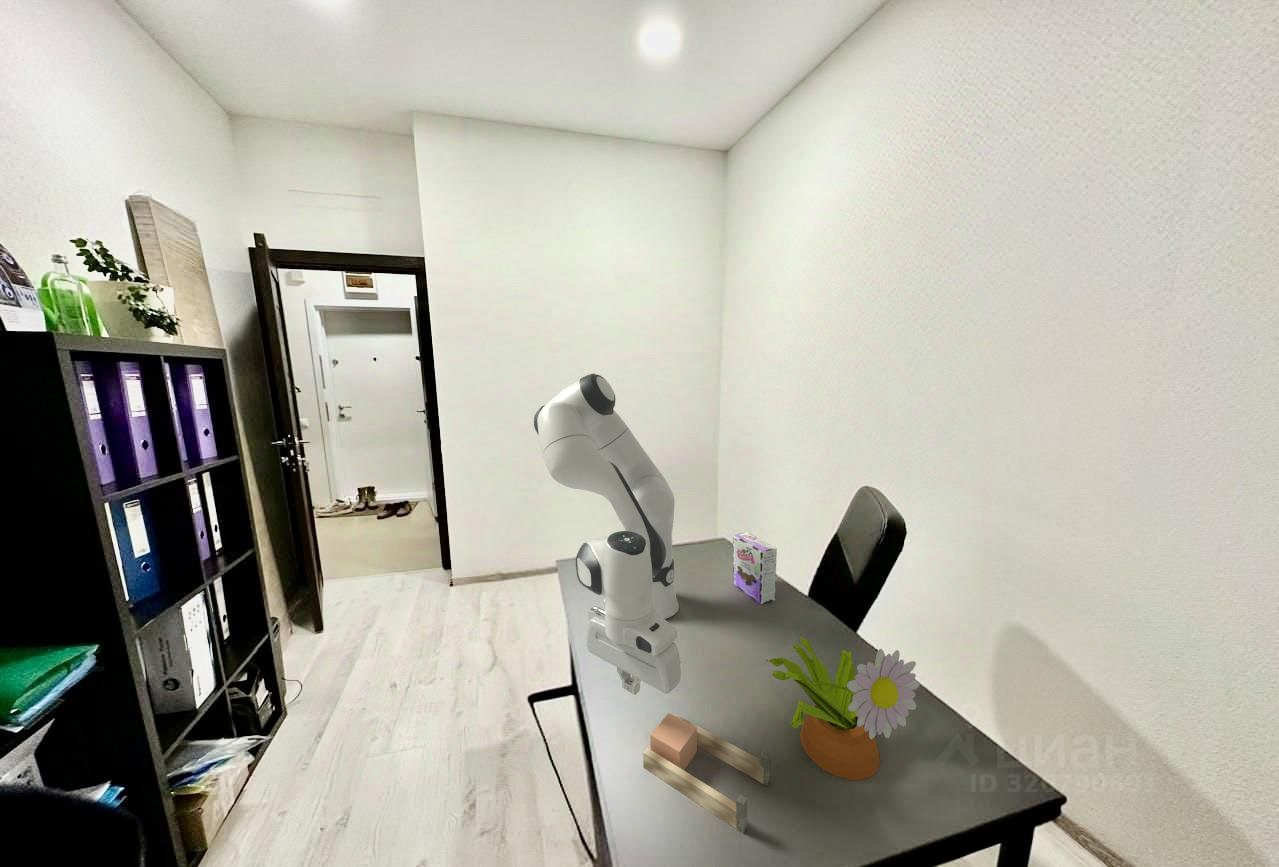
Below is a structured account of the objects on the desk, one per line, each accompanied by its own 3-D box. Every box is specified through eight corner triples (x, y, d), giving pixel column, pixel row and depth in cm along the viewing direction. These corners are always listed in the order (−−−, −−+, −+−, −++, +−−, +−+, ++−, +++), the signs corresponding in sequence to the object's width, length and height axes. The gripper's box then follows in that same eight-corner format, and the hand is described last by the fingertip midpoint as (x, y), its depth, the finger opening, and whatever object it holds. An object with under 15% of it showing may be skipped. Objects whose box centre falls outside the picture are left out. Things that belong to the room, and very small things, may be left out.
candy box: (731, 583, 139) (732, 534, 136) (747, 579, 141) (747, 531, 139) (760, 605, 126) (760, 551, 124) (776, 600, 129) (777, 547, 126)
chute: (643, 767, 77) (642, 742, 76) (675, 727, 85) (675, 704, 84) (743, 833, 65) (743, 804, 65) (769, 780, 74) (770, 754, 73)
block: (650, 759, 78) (650, 734, 78) (669, 736, 83) (668, 712, 82) (679, 777, 75) (679, 751, 74) (697, 752, 80) (696, 727, 79)
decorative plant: (821, 827, 66) (828, 677, 62) (741, 708, 89) (742, 594, 85) (957, 776, 73) (971, 639, 69) (851, 679, 96) (856, 572, 92)
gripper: (577, 610, 84) (580, 675, 86) (664, 652, 71) (665, 727, 74) (600, 596, 89) (602, 658, 91) (685, 633, 76) (685, 704, 78)
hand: (631, 689), depth 82 cm, fingers closed
